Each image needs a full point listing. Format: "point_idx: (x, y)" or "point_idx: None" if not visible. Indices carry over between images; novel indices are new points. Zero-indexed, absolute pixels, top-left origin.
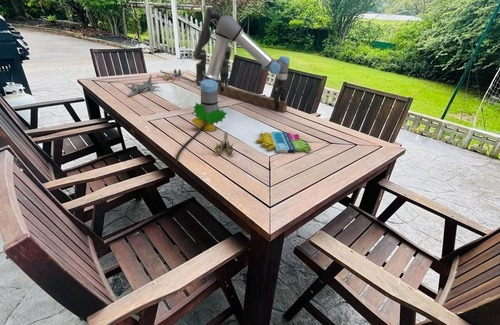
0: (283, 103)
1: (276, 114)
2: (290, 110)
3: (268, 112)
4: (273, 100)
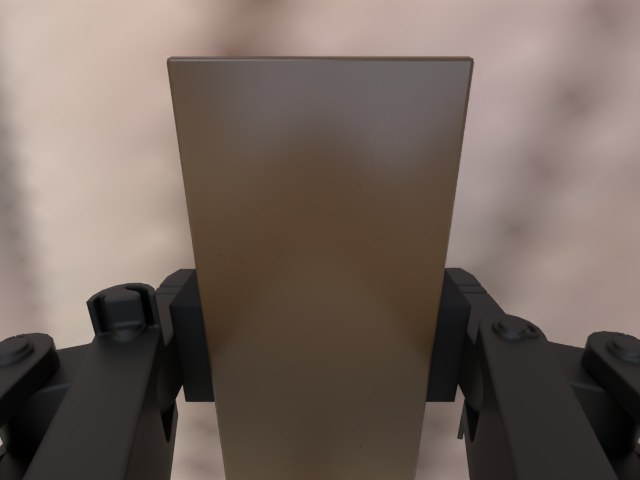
0: (464, 88)
1: (572, 115)
2: (98, 50)
3: (551, 278)
4: (415, 466)
